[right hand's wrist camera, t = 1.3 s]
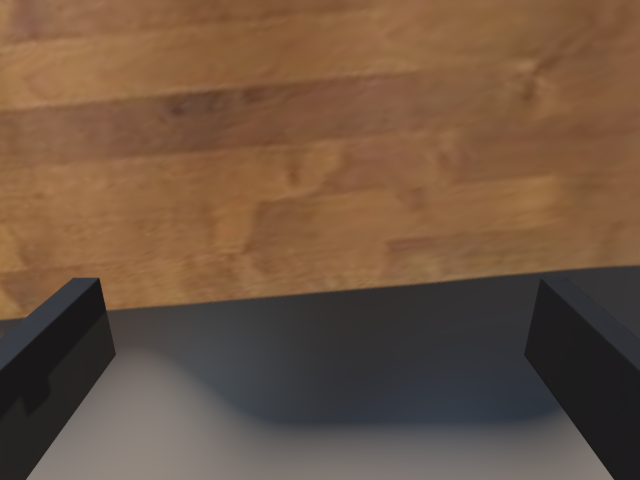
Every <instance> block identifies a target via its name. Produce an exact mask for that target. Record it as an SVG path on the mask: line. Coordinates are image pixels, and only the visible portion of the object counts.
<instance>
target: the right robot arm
mask: <svg viewBox="0 0 640 480" xmlns="http://www.w3.org/2000/svg"><path fill="white" fill-rule="evenodd" d="M115 355H116V353H115V348H114V344H113V339H112V335H111V330H110V325H109V321H108V316H107V312H106V307H105V302H104V298H103V293H102V288H101V284H100V279H99V278H73V279H71V280H70V281H69V282H68V283H67V284H65V285H64V286H63V287H62V288H61V289H60V290H58V291H57V292H56V293H55V294H54V295H52V296H51V297H50V298H49V299H48V300H46V301H45V302H44V303H43V304H42V305H40V306H39V307H38V308H37V309H36V310H34V311H33V312H32V313H31V314H30V315H29V316H27V317H26V318H25V319H24V320H23V321H21V322H20V323H19V324H18V325H17V326H15V327H14V328H13V329H12V330H11V331H9V332H8V333H7V334H6V335H5V336H4V337H2V338H1V339H0V480H26V479H27V477H28V476H29V475H30V473H31V472H32V470H33V469H34V468H35V466H36V465H37V463H38V462H39V461H40V459H41V458H42V456H43V455H44V454H45V452H46V451H47V450H48V448H49V447H50V445H51V444H52V443H53V441H54V440H55V438H56V437H57V436H58V434H59V433H60V431H61V430H62V429H63V427H64V426H65V425H66V423H67V422H68V420H69V419H70V418H71V416H72V415H73V413H74V412H75V411H76V409H77V408H78V406H79V405H80V404H81V402H82V401H83V400H84V398H85V397H86V395H87V394H88V393H89V391H90V390H91V388H92V387H93V386H94V384H95V383H96V381H97V380H98V379H99V377H100V376H101V375H102V373H103V372H104V370H105V369H106V368H107V366H108V365H109V363H110V362H111V361H112V359H113V358H114V356H115ZM524 355H525V356H526V358H527V359H528V361H529V362H530V363H531V365H532V366H533V368H534V369H535V370H536V372H537V373H538V375H539V376H540V377H541V379H542V380H543V381H544V383H545V384H546V386H547V387H548V388H549V390H550V391H551V393H552V394H553V395H554V397H555V398H556V399H557V401H558V402H559V404H560V405H561V406H562V408H563V409H564V411H565V412H566V413H567V415H568V416H569V417H570V419H571V420H572V422H573V423H574V424H575V426H576V427H577V429H578V430H579V431H580V433H581V434H582V436H583V437H584V438H585V440H586V441H587V443H588V444H589V445H590V447H591V448H592V450H593V451H594V452H595V454H596V455H597V456H598V458H599V459H600V461H601V462H602V463H603V465H604V466H605V467H606V469H607V470H608V472H609V473H610V475H611V476H612V477H613V479H614V480H640V339H639V338H638V337H637V336H635V335H634V334H633V333H632V332H630V331H629V330H628V329H627V328H626V327H625V326H623V325H622V324H621V323H620V322H619V321H617V320H616V319H615V318H614V317H613V316H611V315H610V314H609V313H608V312H607V311H606V310H604V309H603V308H602V307H601V306H600V305H598V304H597V303H596V302H595V301H594V300H592V299H591V298H590V297H589V296H588V295H586V294H585V293H584V292H583V291H582V290H580V289H579V288H578V287H577V286H576V285H574V284H573V283H572V282H571V281H570V280H569V279H567V278H541V279H540V284H539V288H538V293H537V298H536V302H535V307H534V312H533V316H532V321H531V325H530V330H529V335H528V339H527V344H526V348H525V353H524Z"/></svg>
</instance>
